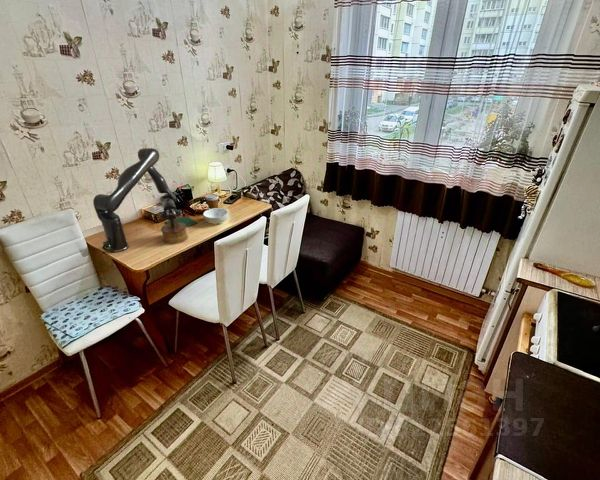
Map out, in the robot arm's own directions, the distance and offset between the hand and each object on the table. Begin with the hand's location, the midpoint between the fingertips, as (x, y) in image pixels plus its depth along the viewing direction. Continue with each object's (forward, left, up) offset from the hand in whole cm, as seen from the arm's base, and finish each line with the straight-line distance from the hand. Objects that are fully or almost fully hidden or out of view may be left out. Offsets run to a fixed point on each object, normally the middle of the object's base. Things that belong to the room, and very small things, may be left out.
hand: (171, 218), depth 183 cm
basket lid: (+1, +3, -8) cm, 8 cm away
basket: (+1, +3, -15) cm, 16 cm away
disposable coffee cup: (+41, +28, -16) cm, 52 cm away
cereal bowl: (+33, +9, -16) cm, 37 cm away
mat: (+13, +23, -15) cm, 30 cm away
